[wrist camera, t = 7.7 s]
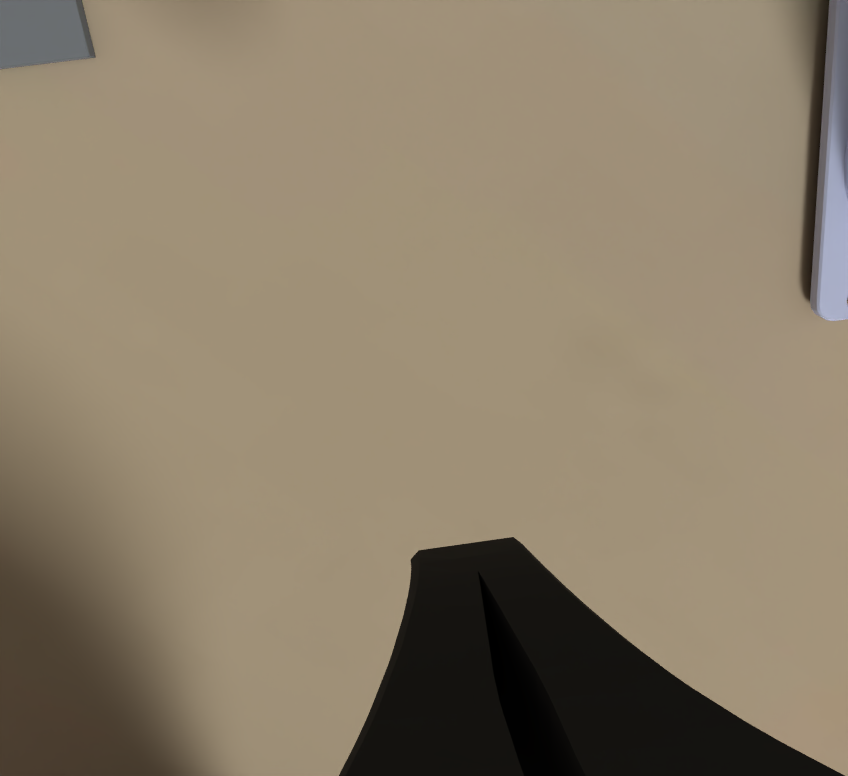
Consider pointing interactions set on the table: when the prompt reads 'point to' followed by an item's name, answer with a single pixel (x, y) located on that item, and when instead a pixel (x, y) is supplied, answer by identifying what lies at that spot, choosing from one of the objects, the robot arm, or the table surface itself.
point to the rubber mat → (43, 32)
